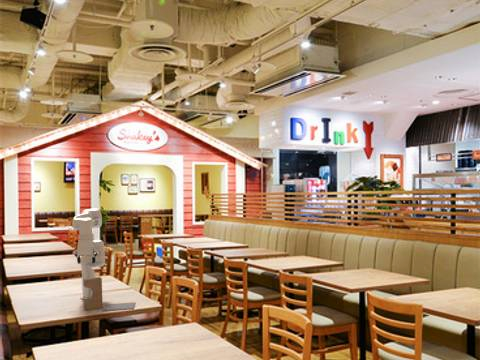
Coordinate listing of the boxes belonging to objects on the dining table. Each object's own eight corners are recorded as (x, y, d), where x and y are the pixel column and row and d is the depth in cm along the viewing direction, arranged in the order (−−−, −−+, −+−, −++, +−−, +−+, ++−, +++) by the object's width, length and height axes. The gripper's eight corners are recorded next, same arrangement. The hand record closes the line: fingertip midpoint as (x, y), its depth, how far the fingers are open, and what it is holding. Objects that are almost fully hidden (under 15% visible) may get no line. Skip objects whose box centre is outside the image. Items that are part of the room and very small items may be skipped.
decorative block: (85, 310, 307) (84, 280, 308) (84, 308, 312) (83, 278, 313) (102, 307, 313) (101, 278, 313) (101, 306, 318) (100, 276, 318)
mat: (105, 305, 320) (105, 304, 320) (135, 303, 323) (135, 302, 323) (102, 311, 304) (102, 310, 304) (133, 309, 307) (133, 308, 307)
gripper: (70, 238, 309) (71, 264, 309) (96, 237, 308) (97, 263, 308) (74, 237, 316) (75, 262, 316) (100, 236, 316) (101, 261, 316)
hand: (86, 263), depth 312 cm, fingers open, 9 cm apart
